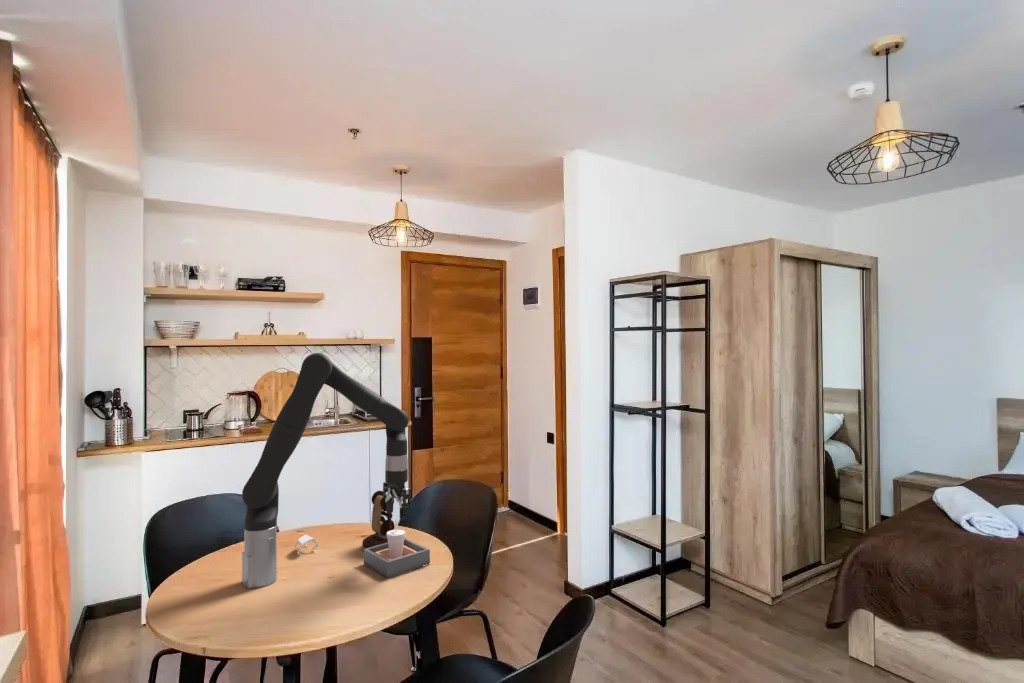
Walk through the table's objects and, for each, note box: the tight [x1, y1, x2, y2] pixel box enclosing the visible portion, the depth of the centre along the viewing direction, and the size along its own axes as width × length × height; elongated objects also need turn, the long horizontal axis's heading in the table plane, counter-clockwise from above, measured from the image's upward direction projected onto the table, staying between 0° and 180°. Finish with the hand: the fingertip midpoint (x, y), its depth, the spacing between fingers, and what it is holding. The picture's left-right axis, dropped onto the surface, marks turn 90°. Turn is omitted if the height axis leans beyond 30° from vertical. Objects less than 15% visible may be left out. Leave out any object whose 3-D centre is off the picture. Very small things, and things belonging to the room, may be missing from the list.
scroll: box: [361, 490, 395, 549], centre depth 195 cm, size 15×15×20 cm
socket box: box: [363, 537, 431, 579], centre depth 179 cm, size 16×16×5 cm
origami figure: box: [294, 534, 320, 558], centre depth 191 cm, size 12×8×5 cm
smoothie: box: [386, 518, 406, 560], centre depth 179 cm, size 6×6×14 cm
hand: (396, 515), depth 179 cm, fingers open, 8 cm apart
